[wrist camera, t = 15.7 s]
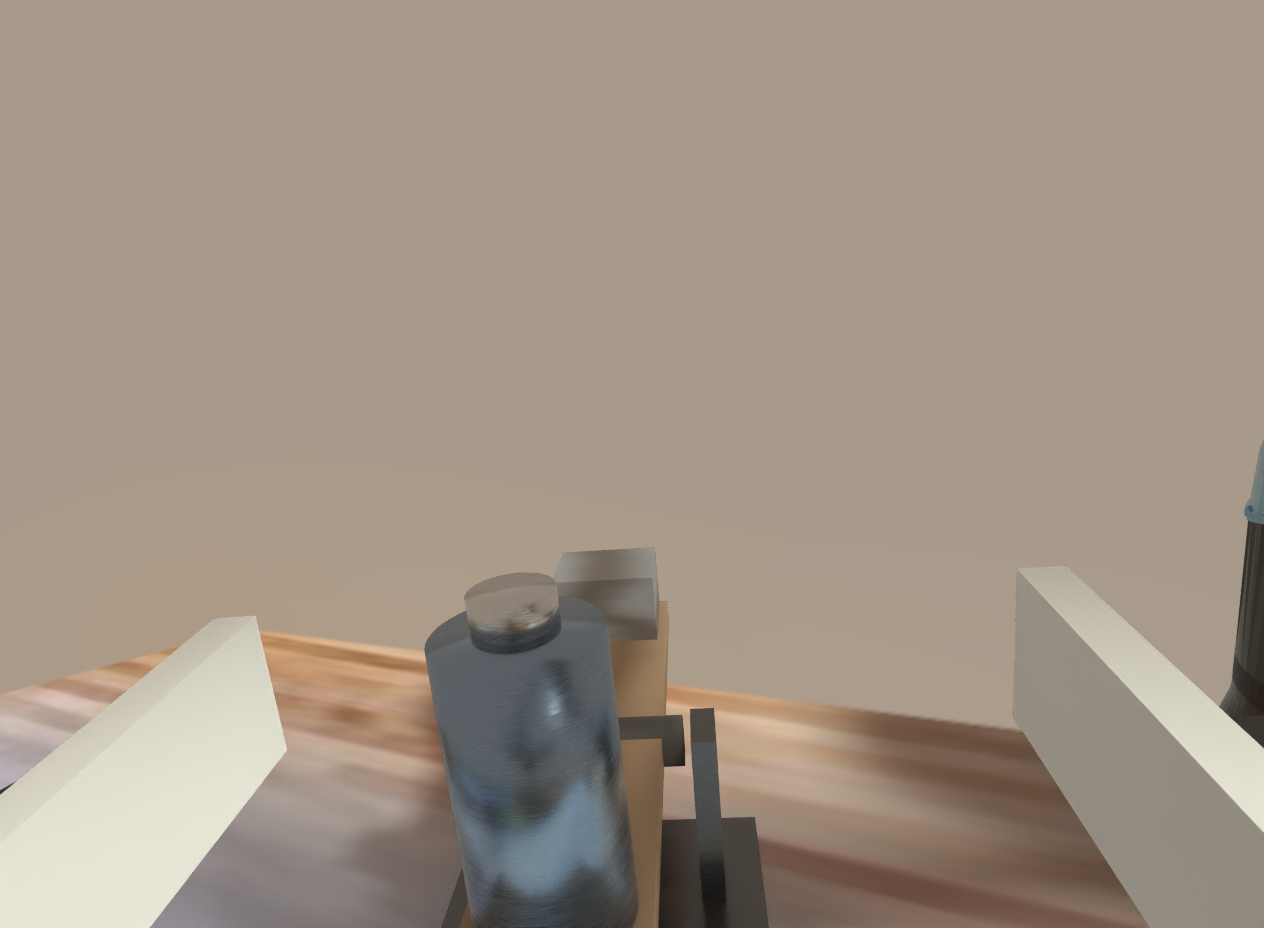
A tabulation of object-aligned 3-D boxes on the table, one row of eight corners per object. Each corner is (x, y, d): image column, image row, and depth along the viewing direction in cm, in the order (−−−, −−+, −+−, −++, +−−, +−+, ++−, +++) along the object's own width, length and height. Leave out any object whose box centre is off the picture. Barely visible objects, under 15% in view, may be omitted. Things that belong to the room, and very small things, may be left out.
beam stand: (755, 832, 48) (747, 676, 46) (771, 963, 39) (762, 779, 37) (479, 840, 49) (456, 690, 47) (435, 969, 41) (405, 792, 38)
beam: (684, 627, 57) (678, 543, 55) (686, 1037, 28) (673, 883, 26) (551, 633, 57) (541, 551, 56) (417, 1039, 28) (389, 891, 27)
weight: (641, 847, 33) (608, 550, 30) (635, 974, 28) (593, 624, 25) (492, 854, 34) (444, 563, 31) (455, 981, 28) (391, 638, 25)
